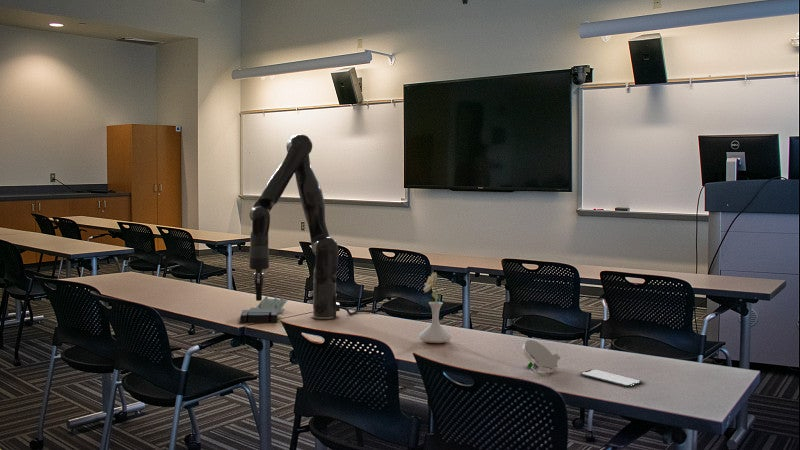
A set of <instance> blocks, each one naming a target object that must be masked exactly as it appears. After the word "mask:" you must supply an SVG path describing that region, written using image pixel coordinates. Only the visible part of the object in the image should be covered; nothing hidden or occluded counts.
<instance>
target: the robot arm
mask: <svg viewBox="0 0 800 450" xmlns="http://www.w3.org/2000/svg"><path fill="white" fill-rule="evenodd" d="M285 148H286V154H285V157H284V159H283V161H282V162H281V164H280V165H279V166H278V168H277V169H276V171H275V172H274V173H273V175H272V176H271V178H270V179H269V180H268V182H267V184H266V185H265V187H264V189H263V190H262V192H261V194H260V195H259V196H258V199H257V200H256V201H255V203H254V204H253V205H252V206H251V208H250V211H249V219H250V221H252V223H251V229H252V230H251V232H250V236H249V237H250V238H249V239H250V241H249V243H250V245H249V264H248V265H249V266H248V267H249V269H250V270H255V272H254V273H253V279H254V286H255V288H254V290H255V301H256V302H261V301H262V300H263V288H264V284H265V280H264V279H265V272H263V270H268V269H270V248H269V245H270V244H269V237H270V236H269V231H270V225H271V213H270V212H271V210H272V209H273V208H274V206H275V205H276V204H278V202H279V200H280V199H281V197H282V195H283V193H284V192H285V190H286V188H287V187H288V185H289V183H290V181H291V179H292V178H293V176H295V183H296V187H297V191H298V196H299V201H300V204H301V207H302V211H303V214H304V218H305V219H306V220H305V221H306V223H307V226H308V231H309V238H310V245H311V250H312V254H314V255H315V265H314V268H313V277H312V278H313V280H312V281H313V285H312V286H313V288H312V291H313V292H312V293H313V294H312V300H313V301H312V318H313V319H316V320H332V319H333V320H334V319H337V312H340V311H341V310H344V311H346V312H347V315H350V316H353V315H355V314H358V313H370V314H372V313H373V314H378V310H370V309H357V310H354V311H352V312H350V310H349V308H347V307H345V306H341V304H340V302H337V271H338V268H339V265H338V264H339V245H338V242H337V241H336V240H335V238H333V237H330V233H329V230H328V227H327V223H326V203H325V198H324V194H323V190H322V187H321V185H320V182H319V180H318V178H317V175H316V173H315V172H314V170H313V166H312V163H311V158H310V154H311V153H312V151H313V142H312V139H311V138H310V137H309V136H308V135H306V134H296V135H292V136H291V137H289V138H288V140H287V141H286V147H285Z"/></svg>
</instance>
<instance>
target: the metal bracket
mask: <svg viewBox="0 0 800 450" xmlns="http://www.w3.org/2000/svg"><path fill="white" fill-rule="evenodd" d="M287 302H288V299H284V296H281V297H280V298H277V296H275V297H274V298H269V297H268V296H265V297H264V298H262V300H261V301H259V303H258V305H257V306H256V307H250V308H249V310H278V312H277V315H279V314H283V313H284V312H285V309H284V306H285V304H286V303H287Z"/></svg>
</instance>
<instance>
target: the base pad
mask: <svg viewBox="0 0 800 450" xmlns="http://www.w3.org/2000/svg"><path fill="white" fill-rule="evenodd" d="M277 312H278V310H250V309H242V310H241V313H240V317H239V318H240V319H239V320H240V321H239V322H240V324H247V323H248V314H249V313H269V321H270V323H273V324H274V323H275V324H276V323H278V314H277Z"/></svg>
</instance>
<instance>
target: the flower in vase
mask: <svg viewBox="0 0 800 450" xmlns="http://www.w3.org/2000/svg"><path fill="white" fill-rule="evenodd" d="M437 278H438V274H437V271H435V272H433V271H432V273H431V274H430V275H429V276H428V277H427V279H426V282H424V287H423V290H422V291H424V292H423V293H427V292H429V291H430V290H431V289H432V288H433V287H434V289H435V291H432V293H431V297H432V298H433V299H434V300H435V301H429V302H428V305H429V306H430V309H431V315H432V320H431V323H430V324H429V325H428V326H427V327H426V328H425V329H423V330H422V331H421V332H420V333H419V335H418V338H419V339H420V340H421V341H423V342H426V343H431V344H441V343H448V342H449V341H451V339H452V338H453V337H452V335H451V334H450V332H448V331H447V330H446V329H445V327H443V326H442V325H441V323H440V318H439V317H440V310H441V308H442V306H443V303H444V302H442V301H438V300H439V298H440V297H439V294H438V289H437V287H436V285H435V284H436V281H437V280H438V279H437Z"/></svg>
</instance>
